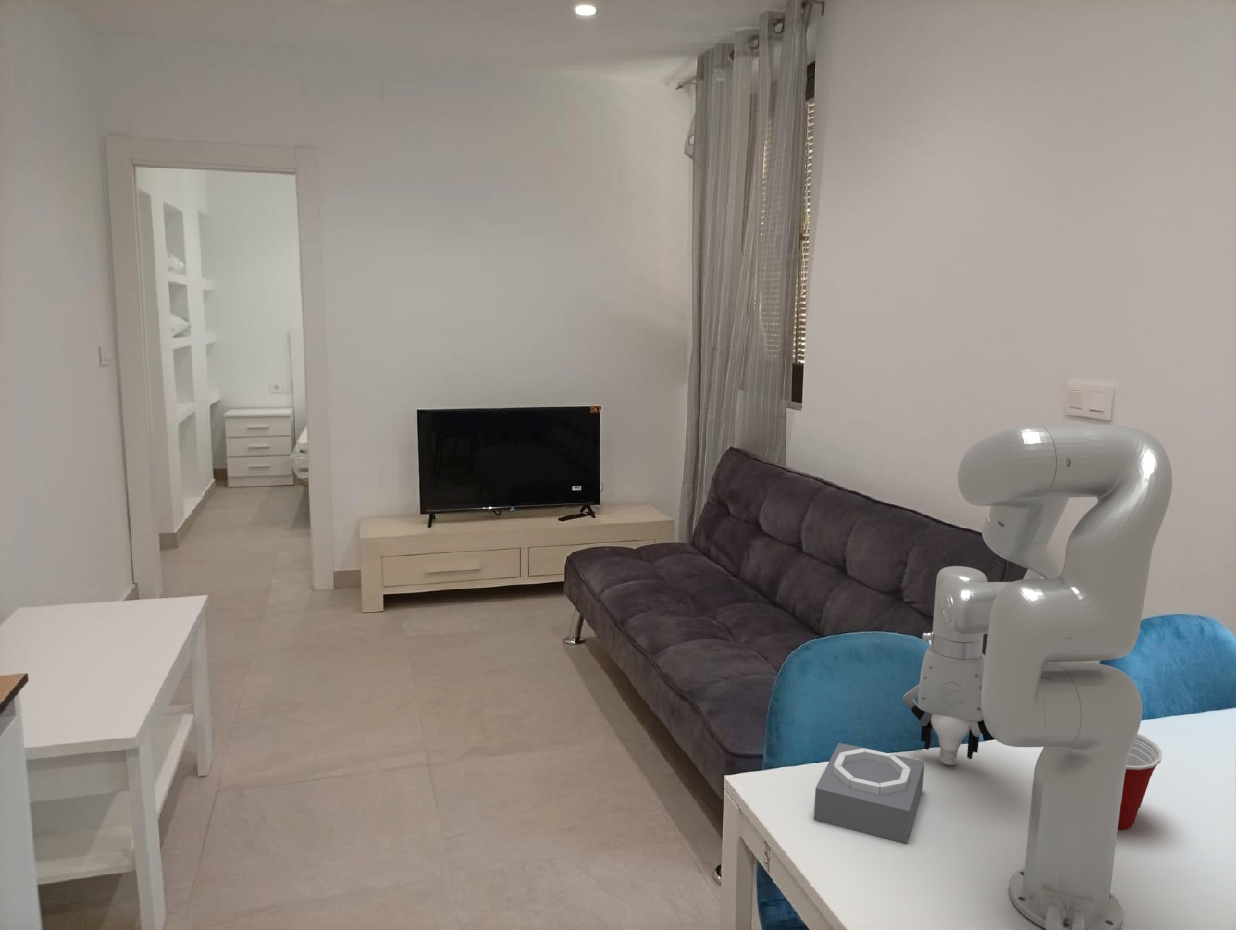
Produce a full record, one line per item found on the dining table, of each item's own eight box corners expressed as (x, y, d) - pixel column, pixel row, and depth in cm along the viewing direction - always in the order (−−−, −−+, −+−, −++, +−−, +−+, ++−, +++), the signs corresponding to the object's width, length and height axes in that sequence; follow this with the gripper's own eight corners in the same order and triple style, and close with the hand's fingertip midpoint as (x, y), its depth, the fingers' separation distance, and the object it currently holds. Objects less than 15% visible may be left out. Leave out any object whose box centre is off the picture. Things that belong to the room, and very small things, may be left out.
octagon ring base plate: (906, 843, 123) (909, 803, 122) (813, 819, 129) (815, 780, 128) (924, 782, 139) (927, 745, 138) (841, 762, 145) (843, 727, 144)
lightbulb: (966, 757, 147) (971, 694, 145) (970, 776, 141) (976, 711, 139) (925, 752, 148) (930, 690, 146) (928, 771, 142) (933, 706, 140)
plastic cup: (1057, 819, 129) (1065, 742, 127) (1082, 790, 137) (1090, 718, 135) (1140, 851, 122) (1150, 771, 120) (1162, 819, 129) (1172, 743, 127)
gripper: (896, 643, 141) (890, 748, 144) (1015, 663, 134) (1005, 773, 137) (904, 628, 148) (897, 729, 151) (1017, 646, 140) (1007, 752, 144)
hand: (948, 749), depth 144 cm, fingers closed on lightbulb, 5 cm apart
